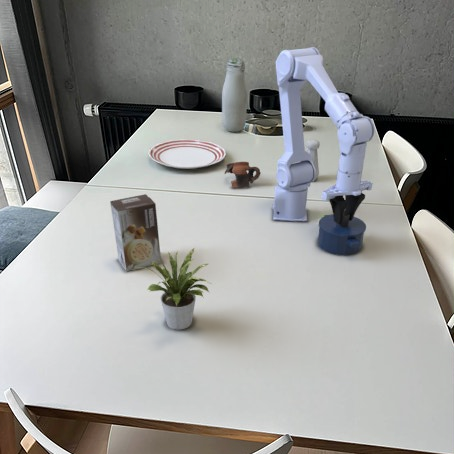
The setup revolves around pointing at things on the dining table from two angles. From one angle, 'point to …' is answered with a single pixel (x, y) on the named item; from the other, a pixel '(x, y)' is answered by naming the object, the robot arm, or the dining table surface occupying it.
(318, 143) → the salt shaker
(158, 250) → the cracker box
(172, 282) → the house plant
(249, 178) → the pottery mug
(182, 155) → the dinner plate
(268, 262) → the dining table surface
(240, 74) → the glass bottle
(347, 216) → the lid
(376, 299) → the dining table surface
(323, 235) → the pot
